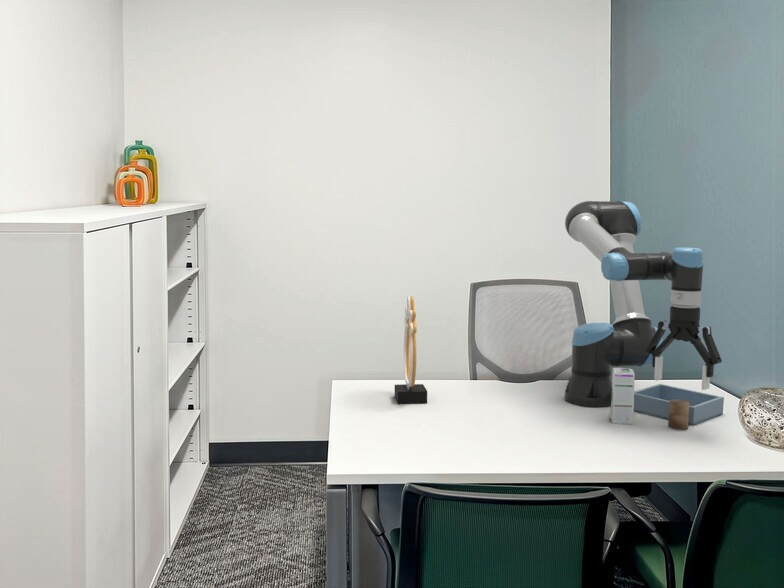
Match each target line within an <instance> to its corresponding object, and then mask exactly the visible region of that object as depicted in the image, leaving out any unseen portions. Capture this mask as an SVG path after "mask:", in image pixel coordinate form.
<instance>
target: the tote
mask: <svg viewBox="0 0 784 588" xmlns="http://www.w3.org/2000/svg"><path fill="white" fill-rule="evenodd" d="M675 399H677V400H685V401H688V402H689V417H688V426H689V425H691V426H696V425H698V424H701V423H703V422H706V421H708V420H711V419H714V418H716V417H719V416H721V415H723V414H724V402H725V396H719V395H716V394H715V395H714V394H710V393H705V392H701V391H696V390H692V389H686V388H682V387H679V386H678V387H676V386H671V385H667V384H663V383H658V384H655V385H651V386H649V387H645V388H641V389H637V390H634V412H637V413H640V414H641V413H642V414H646V415H649V416H654V417H657V418H662V419H666V420H669V404H670V400H675Z"/></svg>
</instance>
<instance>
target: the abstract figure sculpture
mask: <svg viewBox="0 0 784 588" xmlns="http://www.w3.org/2000/svg"><path fill="white" fill-rule="evenodd" d="M404 313H405V315H404V335H403V368H404V370H403V371H404V373H403V374H404V381H405V384H394V399H395V402H396V403H397V405H419V404H420V405H421V404H424V405H425V404H428V390H427V388H426V387H425V384H423V383H422V384H421V383H417V384H416V376H417V375H416V374H417V338H416V334H417V329H418V328H417V322H416V319H417V318H416V317H417V311H416V310H415V300H414V296H406V306H405V308H404Z"/></svg>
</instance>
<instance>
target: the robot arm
mask: <svg viewBox="0 0 784 588" xmlns="http://www.w3.org/2000/svg"><path fill="white" fill-rule="evenodd" d="M564 221H565V222H564V225H565V226H564V227H565V230H566V232H567V234H568V235H569V237H570V238H571V239H573V240H574V241H575V242H578V243H581V244H582V245H583V246H584V247H585V248H586V249H587V250H589V252H590V253H591V254H592V255H593V256H594V257H595V258H596V259H597V260H598V261H599V262H600V269H601V273H602V276H603V277H604V279H606V280H607V281H609V283H610V291H611V297H612V302H613V308H614V315H615V320H614V322H613V323H608V322H590V323H585V324H584V323H583V324H581V325H578V326H576V328H574V330H573V333H572V340H571V346H572V347H571V348H572V350H571V351H572V352H571V373H570V376H569V379H568V382H567V384H566V386H565V387H566V388H565V390H564V400H565V401H566V402H567V403H569V404H573V405H578V406H581V407H593V408H598V407H599V408H600V407H602V408H603V407H604V408H605V407H611V396H612V368H613V367H644V366H652V368H654V374H653V375H654V376H653V377H654V378H653V379H654V381H660V380H663V366H664V365H663V364H664V356H663V355H662V353H663V352H664V351H665V350H667V348H668V347H669V346H670V345H672V343H673V342H674V341H675V340H676V341H684V342H685V343H686V342H689V343H690V344H692V345H693V347H694V348H695V350H696V351H697V352H698V354H699V355H700V357H701V359H702V360H703V362H704V363H705V364H702V373H701V374H702V378H701V390H703V391H705V390H708V389H710V385H711V378H713V377H714V368H715V365H718V364H721V363H722V362H723V361H722V358H721V355H720V352H719V350H718V348H717V345H716V343H715V341H714V338H713V336H712V326H700V319H701V308H700V307H699V306H701V304H702V287H703V286H702V283H703V274H704V272H703V271H704V252H703V250H702V249H701V248H699V247H675V248H674V249H673V251H672V252H669V251H658V252H635V250H634V244H635V242H636V240H637V236H638V235H639V234H640V232H641V228H642V226H641V225H642V218H641V213H640V211H639V209H638V207H637V206H636V205H635V204H634V203H633V202H630V201H622V200H616V201H614V200H612V201H611V200H610V201H609V200H608V201H603V200H601V201H600V200H599V201H598V200H595V201H593V200H586V201H582V202H579V203H577V204H576V205H574V206H573V207H571V209H570V210H568V213H567V214H566V217H565V219H564ZM640 281H670V282H671V283H670V284H671V289H670V304H671V306H670V307H669V322H668V321H667V320H661V321H658V325H657V327H655V326H653V325H652V320H651V318H650V317H648V316H646V314H645V309H644V304H643V303H644V302H643V298H642V292H641V287H640ZM668 329H669V331H670V333H668V335H666V338H665V339H663V336H664V334H665V333H666V331H667V330H668ZM699 333H700V335H702V338H703V341H704V344H705V345H706V347H705V345H704V344H703V342H702V338H700V336H699Z"/></svg>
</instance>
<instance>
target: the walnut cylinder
mask: <svg viewBox="0 0 784 588" xmlns="http://www.w3.org/2000/svg"><path fill="white" fill-rule="evenodd" d="M688 417H689V402H688V401H685V400H677V399H675V400H670V404H669V419H668V424H667V425H668V428H670V429H673V430H680V431H683V430H684V431H685V430H688V429H689V424H688Z"/></svg>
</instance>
